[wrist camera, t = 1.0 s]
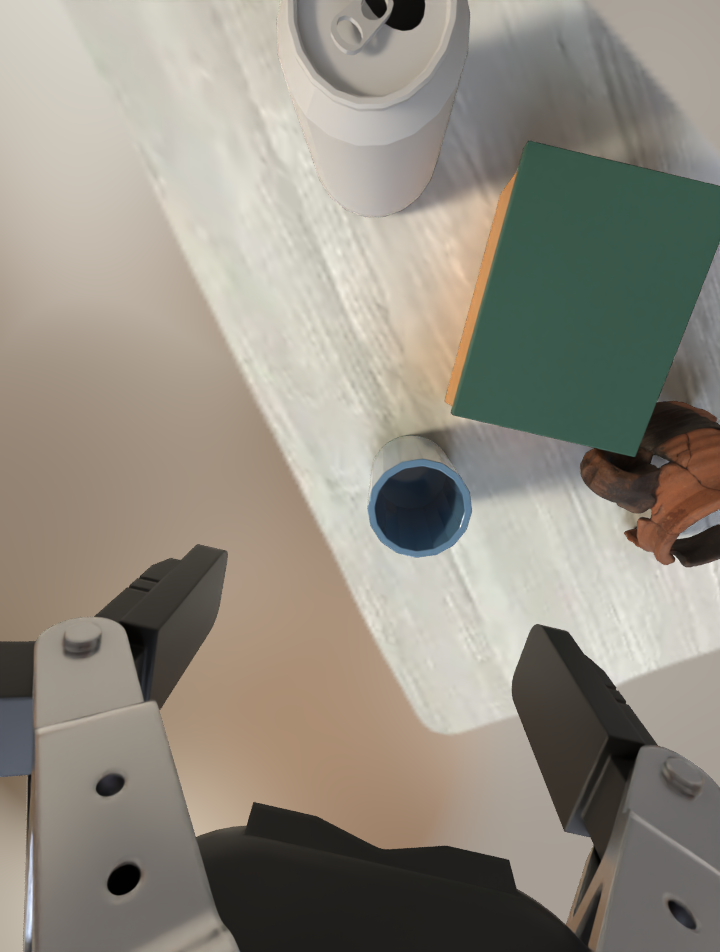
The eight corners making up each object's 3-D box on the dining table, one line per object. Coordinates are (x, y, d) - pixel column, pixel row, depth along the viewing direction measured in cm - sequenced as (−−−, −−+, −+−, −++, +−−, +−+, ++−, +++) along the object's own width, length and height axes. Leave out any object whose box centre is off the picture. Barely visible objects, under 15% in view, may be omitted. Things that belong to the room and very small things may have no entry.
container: (497, 186, 27) (528, 139, 22) (665, 226, 27) (740, 189, 22) (438, 404, 31) (452, 415, 25) (588, 439, 31) (635, 457, 25)
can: (463, 152, 27) (525, -4, 15) (374, 249, 29) (369, 173, 17) (376, 48, 26) (373, -205, 14) (289, 154, 27) (222, 4, 16)
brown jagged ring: (733, 394, 30) (847, 477, 24) (650, 493, 36) (724, 579, 30) (580, 381, 27) (666, 471, 22) (518, 490, 34) (571, 584, 28)
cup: (381, 427, 31) (381, 449, 24) (458, 445, 31) (484, 472, 24) (363, 501, 33) (358, 544, 25) (438, 518, 33) (455, 566, 25)
